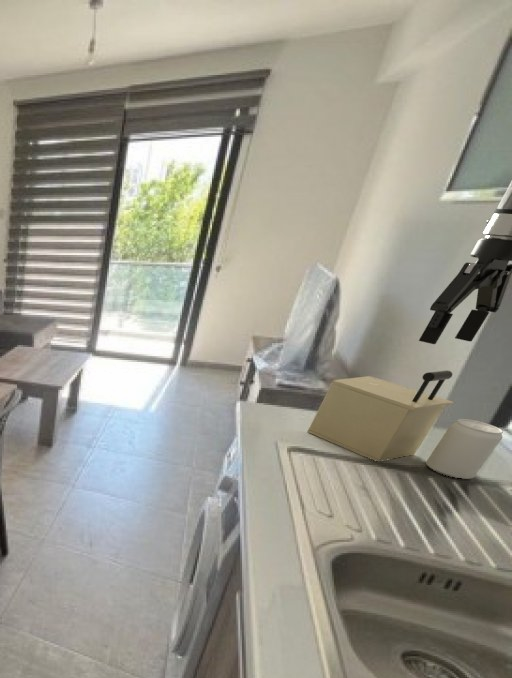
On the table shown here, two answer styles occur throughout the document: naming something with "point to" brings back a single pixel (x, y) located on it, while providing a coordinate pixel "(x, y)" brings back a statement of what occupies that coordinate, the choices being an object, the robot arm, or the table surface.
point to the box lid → (400, 390)
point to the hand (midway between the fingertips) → (445, 341)
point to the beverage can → (464, 448)
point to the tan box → (371, 424)
